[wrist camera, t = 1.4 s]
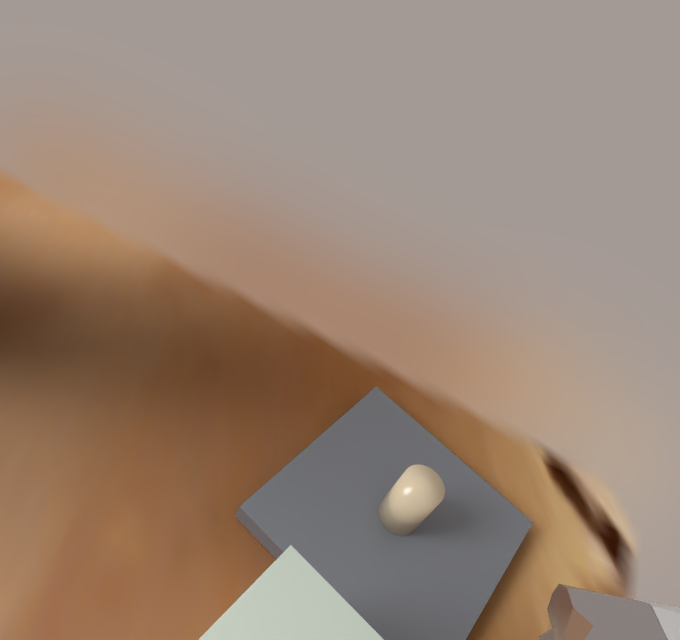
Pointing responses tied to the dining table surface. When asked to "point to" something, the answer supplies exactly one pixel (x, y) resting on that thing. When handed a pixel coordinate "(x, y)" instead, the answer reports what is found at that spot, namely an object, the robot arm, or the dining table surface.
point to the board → (367, 551)
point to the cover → (291, 608)
